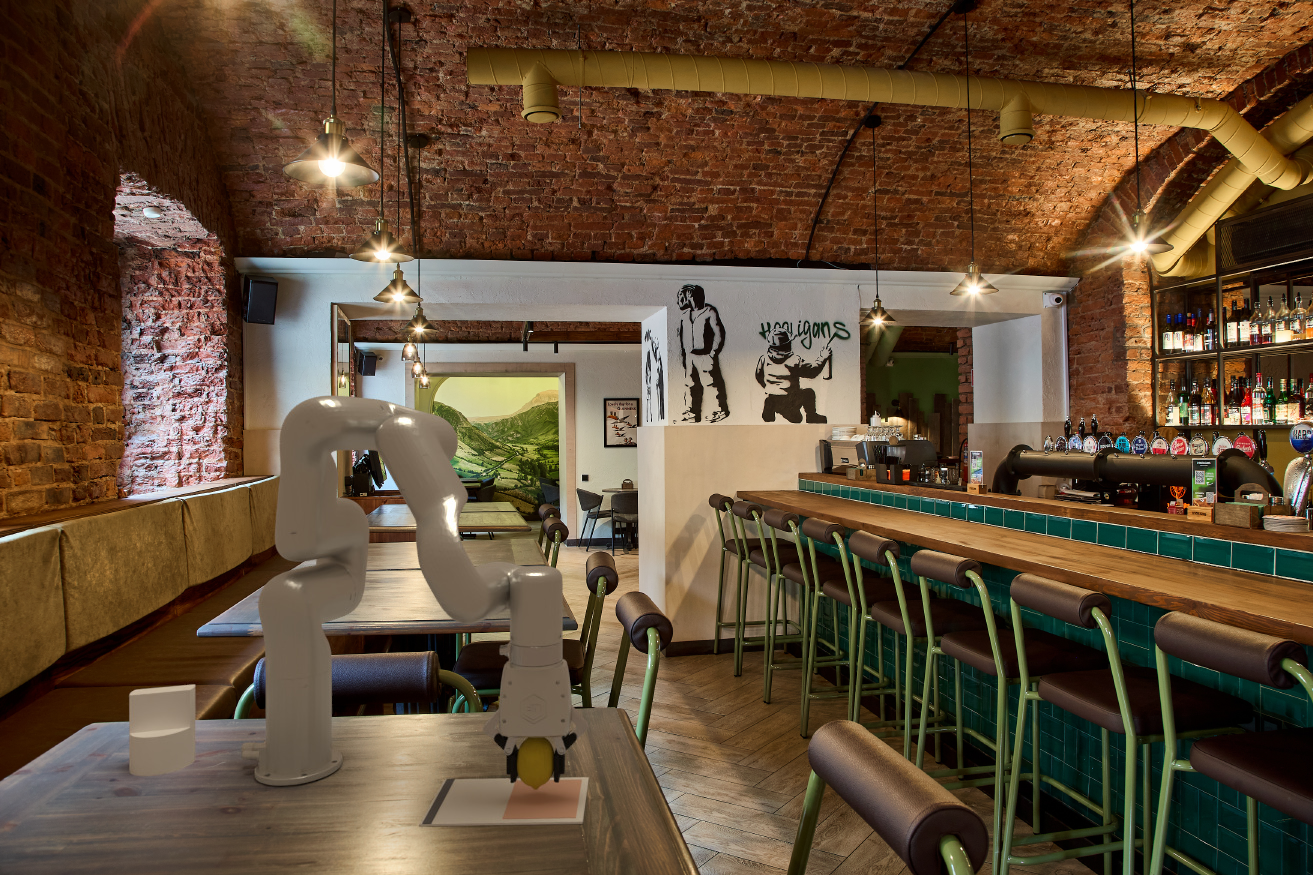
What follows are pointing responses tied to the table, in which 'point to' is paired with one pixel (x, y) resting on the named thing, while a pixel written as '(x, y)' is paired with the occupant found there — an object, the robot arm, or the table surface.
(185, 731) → the base with upright slab
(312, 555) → the robot arm
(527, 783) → the lemon
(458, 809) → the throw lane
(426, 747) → the table surface
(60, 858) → the table surface
